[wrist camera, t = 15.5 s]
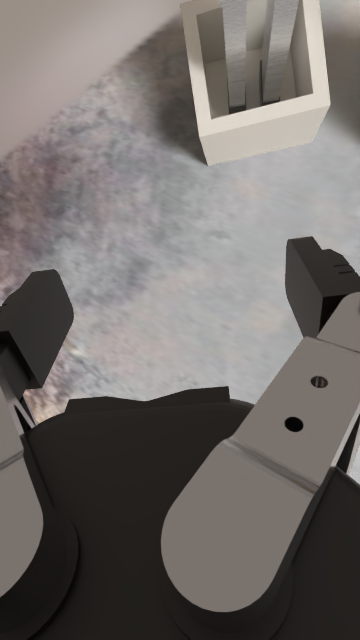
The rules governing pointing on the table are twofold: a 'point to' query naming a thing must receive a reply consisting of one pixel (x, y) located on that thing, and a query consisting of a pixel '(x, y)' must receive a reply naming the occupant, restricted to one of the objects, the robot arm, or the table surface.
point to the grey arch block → (273, 54)
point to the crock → (255, 82)
